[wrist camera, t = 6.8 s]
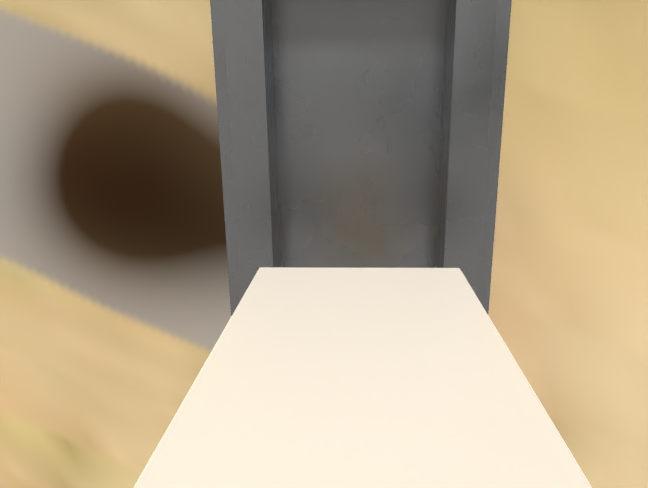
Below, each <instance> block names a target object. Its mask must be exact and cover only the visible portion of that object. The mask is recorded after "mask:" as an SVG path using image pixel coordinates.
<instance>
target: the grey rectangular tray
mask: <svg viewBox="0 0 648 488" xmlns="http://www.w3.org/2000/svg"><path fill="white" fill-rule="evenodd" d="M210 4H211V19H212V34H213V49H214V64H215V79H216V94H217V109H218V123H219V139H220V153H221V169H222V183H223V198H224V214H225V229H226V244H227V259H228V274H229V287H230V304H231V317H232V315H233V313H234V311H235V310H236V308H237V306H238V304H239V303H240V301H241V299H242V297H243V296H244V294H245V292H246V290H247V289H248V287H249V285H250V283H251V282H252V280H253V278H254V276H255V275H256V273H257V271H258V269H259V268H260V267H295V268H460V270H461V271H462V273H463V274H464V276H465V278H466V279H467V281H468V283H469V284H470V286H471V288H472V289H473V291H474V293H475V294H476V296H477V298H478V299H479V301H480V303H481V304H482V306H483V308H484V309H485V311H486V313H487V314H488V309H489V296H490V282H491V269H492V255H493V242H494V228H495V215H496V201H497V188H498V174H499V161H500V147H501V134H502V120H503V107H504V93H505V80H506V66H507V53H508V39H509V26H510V12H511V0H210Z"/></svg>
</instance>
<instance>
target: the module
mask: <svg viewBox="0 0 648 488" xmlns="http://www.w3.org/2000/svg"><path fill="white" fill-rule="evenodd" d="M133 488H592V487H591V485H590V483H589V482H588V480H587V478H586V477H585V475H584V473H583V472H582V470H581V468H580V467H579V465H578V463H577V462H576V460H575V458H574V457H573V455H572V453H571V452H570V450H569V448H568V447H567V445H566V444H565V442H564V440H563V439H562V437H561V435H560V434H559V432H558V430H557V429H556V427H555V425H554V424H553V422H552V420H551V419H550V417H549V415H548V414H547V412H546V410H545V409H544V407H543V405H542V404H541V402H540V400H539V399H538V397H537V395H536V394H535V392H534V390H533V389H532V387H531V386H530V384H529V382H528V381H527V379H526V377H525V376H524V374H523V372H522V371H521V369H520V367H519V366H518V364H517V362H516V361H515V359H514V357H513V356H512V354H511V352H510V351H509V349H508V347H507V346H506V344H505V342H504V341H503V339H502V337H501V336H500V334H499V332H498V331H497V329H496V328H495V326H494V324H493V323H492V321H491V319H490V318H489V316H488V314H487V313H486V311H485V309H484V308H483V306H482V304H481V303H480V301H479V299H478V298H477V296H476V294H475V293H474V291H473V289H472V288H471V286H470V284H469V283H468V281H467V279H466V278H465V276H464V274H463V273H462V271H461V270H460V268H295V267H260V268H259V269H258V271H257V273H256V275H255V276H254V278H253V280H252V282H251V283H250V285H249V287H248V289H247V290H246V292H245V294H244V296H243V297H242V299H241V301H240V303H239V304H238V306H237V308H236V310H235V311H234V313H233V315H232V317H231V318H230V320H229V322H228V323H227V325H226V327H225V329H224V330H223V332H222V334H221V336H220V338H219V339H218V341H217V343H216V345H215V346H214V348H213V350H212V351H211V353H210V355H209V357H208V358H207V360H206V362H205V364H204V365H203V367H202V369H201V371H200V372H199V374H198V376H197V378H196V379H195V381H194V383H193V385H192V386H191V388H190V390H189V391H188V393H187V395H186V397H185V398H184V400H183V402H182V404H181V405H180V407H179V409H178V411H177V412H176V414H175V416H174V418H173V419H172V421H171V423H170V425H169V426H168V428H167V430H166V432H165V433H164V435H163V437H162V439H161V440H160V442H159V444H158V446H157V447H156V449H155V451H154V452H153V454H152V456H151V458H150V459H149V461H148V463H147V465H146V466H145V468H144V470H143V472H142V473H141V475H140V477H139V479H138V480H137V482H136V484H135V486H134V487H133Z"/></svg>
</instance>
